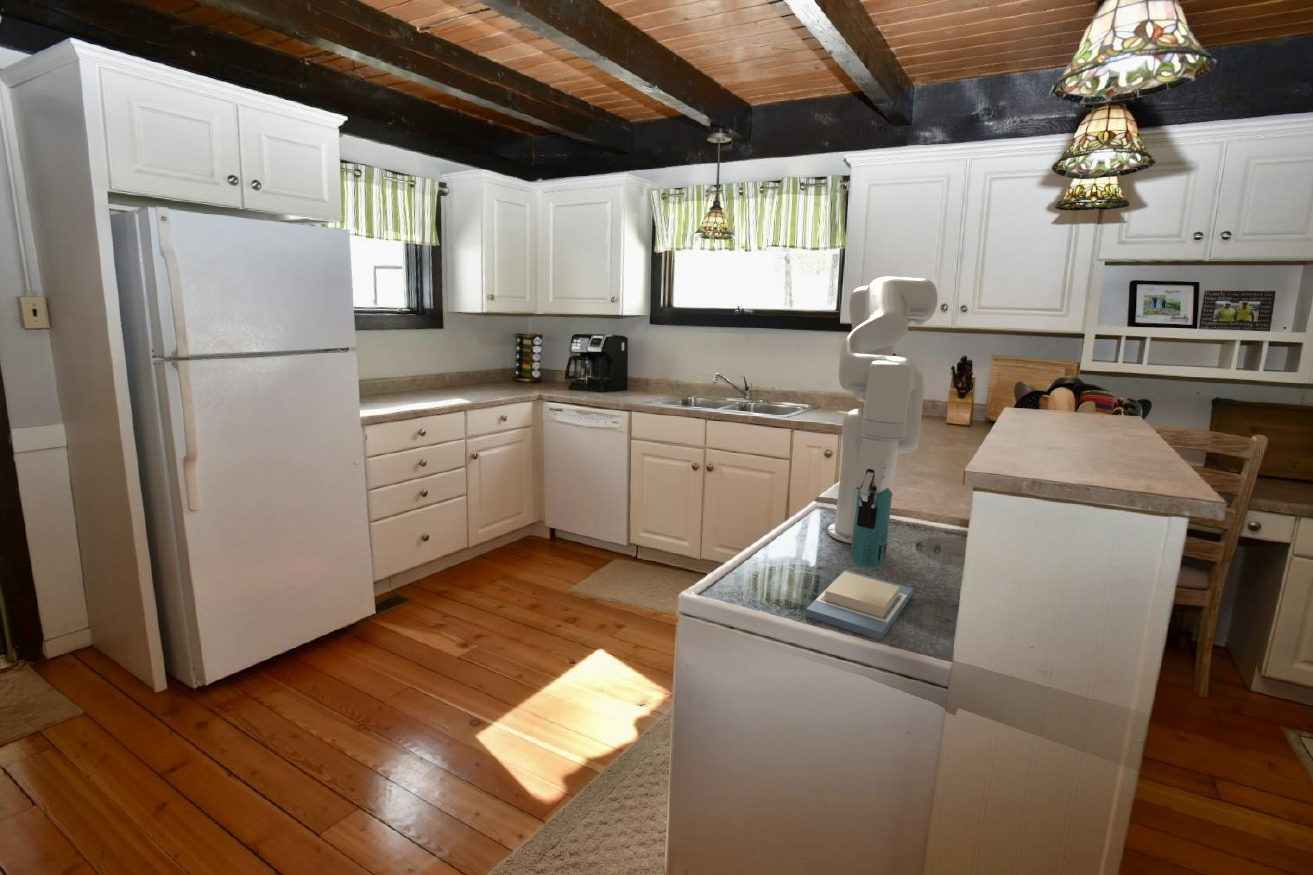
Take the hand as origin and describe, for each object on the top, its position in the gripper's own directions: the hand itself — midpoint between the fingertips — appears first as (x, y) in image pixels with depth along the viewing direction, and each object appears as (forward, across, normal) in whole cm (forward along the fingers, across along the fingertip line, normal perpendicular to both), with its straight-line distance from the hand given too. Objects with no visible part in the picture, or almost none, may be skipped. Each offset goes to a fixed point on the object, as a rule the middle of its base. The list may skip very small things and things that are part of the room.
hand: (871, 521), depth 130 cm
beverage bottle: (+10, 0, 0) cm, 10 cm away
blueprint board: (+17, 0, 0) cm, 17 cm away
